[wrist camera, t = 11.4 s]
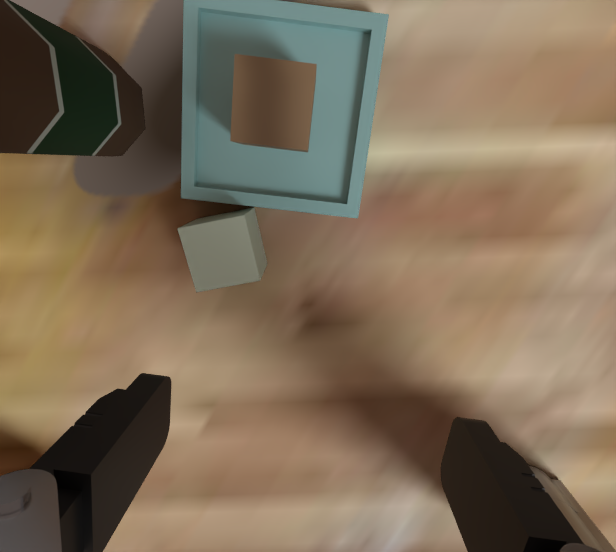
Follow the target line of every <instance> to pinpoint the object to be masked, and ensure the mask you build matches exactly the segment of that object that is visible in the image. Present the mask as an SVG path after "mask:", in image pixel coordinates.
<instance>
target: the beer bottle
mask: <svg viewBox="0 0 616 552" xmlns="http://www.w3.org/2000/svg"><path fill="white" fill-rule="evenodd" d="M144 130H145V119H144V108H143V99H142V89H141V87H140V86H139V85H138V84H137V83H136V82H135V81H134V80H133V79H132V78H131V77H130V76H129V75H128V74H127V73H126V72H125V71H124V69H123V68H122V67H121V66H120V65H119V64H118V63H117V62H116V61H115V60H114V59H113V58H112V57H111V56H109V55H108V54H106V53H105V52H103V51H102V50H100V49H99V48H97V47H95V46H93V45H91V44H89V43H87V42H86V41H84V40H82V39H80V38H78V37H76V36H75V35H73V34H71V33H69V32H67V31H65V30H63V29H62V28H60V27H58V26H56V25H54V24H52V23H50V22H48V21H47V20H45V19H43V18H41V17H39V16H37V15H36V14H34V13H32V12H30V11H28V10H26V9H24V8H23V7H21V6H19V5H17V4H15V3H13V2H11V1H10V0H0V153H20V154H49V155H80V156H121V155H123V154H124V153H125V152H126V150H128V148H129V147H130V146H131V145H132V144H133V143H134V141H135V140H136V139H137V138H138V137H139V136H140V134H141V133H142V132H143V131H144Z"/></svg>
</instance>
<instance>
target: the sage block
mask: <svg viewBox="0 0 616 552" xmlns="http://www.w3.org/2000/svg"><path fill="white" fill-rule="evenodd" d="M177 229H178V232H179V236H180V239H181V243H182V246H183V249H184V253H185V256H186V259H187V263H188V266H189V269H190V273H191V276H192V279H193V283H194V286H195V289H196V292H202V291H207V290H212V289H218V288H223V287H229V286H234V285H239V284H245V283H250V282H255V281H260V280H261V278H262V275H263V273H264V271H265V268H266V266H267V259H266V255H265V251H264V247H263V242H262V238H261V234H260V230H259V225H258V221H257V217H256V212H255V208H249V209H244V210H239V211H234V212H229V213H223V214H218V215H213V216H208V217H203V218H198V219H196V220H194V221H191V222H189V223H187V224H185V225H183V226H181V227H179V228H177Z"/></svg>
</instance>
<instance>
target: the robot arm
mask: <svg viewBox="0 0 616 552" xmlns="http://www.w3.org/2000/svg"><path fill="white" fill-rule="evenodd" d="M170 405H171V379H170V377H167V376H160V375H153V374H146V373H142V374H140V375H139V376H138V377H137V378H136V379H135V380H134V381H133V382H132V384H131V385H130V386H129V387H128V388H127V389H126V390H123V389H116V390H114V391H113V392H111V393H109V394H107V395H105V396H103V397H101V398H100V399H98V400H97V401H96V402H95V403H94V404H93V405H92V406H91V407H90V408H89V409H88V410H87V411H86V414H85V415H82V416H81V417H80V418H79V419H78V420H77V421H76V422H75V425H74V426H71V427H70V428H69V429H68V430H67V431H66V432H65V433H64V434H63V435H62V436H61V437H60V438H59V439H58V440H57V441H56V442H55V443H54V444H53V445H52V446H51V447H50V448H49V449H48V450H47V451H46V452H45V453H44V454H43V456H42V457H41V458H40V459H39V460H38V461H37V462H36V463H35V464H34V465H33V466H32V467H31V468H30V469H25V470H19V471H15V472H11V473H8V474H5V475H3V476H0V552H103V550H104V548H105V547H106V545H107V543H108V542H109V540H110V538H111V536H112V535H113V533H114V531H115V530H116V528H117V526H118V524H119V523H120V521H121V519H122V517H123V516H124V514H125V512H126V511H127V509H128V507H129V505H130V504H131V502H132V500H133V499H134V497H135V495H136V493H137V492H138V490H139V488H140V487H141V485H142V483H143V481H144V480H145V478H146V476H147V475H148V473H149V471H150V469H151V468H152V466H153V464H154V463H155V461H156V459H157V457H158V456H159V454H160V452H161V450H162V449H163V447H164V445H165V442H166V439H167V436H168V432H169V426H170ZM441 481H442V486H443V489H444V492H445V494H446V497H447V499H448V502H449V504H450V507H451V510H452V512H453V515H454V517H455V520H456V523H457V525H458V528H459V530H460V533H461V535H462V538H463V541H464V543H465V546H466V548H467V551H468V552H616V550H615V549H614V548H613V547H612V545H611V544H610V543H609V542H608V540H607V539H606V538H605V536H604V535H603V534H602V533H601V531H600V530H599V529H598V528H597V526H596V525H595V524H594V522H593V521H592V520H591V519H590V517H589V516H588V515H587V514H586V512H585V511H584V510H583V508H582V507H581V506H580V505H579V503H578V502H577V501H576V500H575V498H574V497H573V496H572V494H571V493H570V492H569V491H568V489H567V488H566V487H565V486H564V484H563V483H562V482H561V480H554V479H551V478H550V477H549V476H548V475H546V474H545V473H544V472H543V471H541V470H539V469H538V468H535V467H532V466H529V465H528V464H527V463H526V461H525V460H524V459H523V458H522V457H521V456H520V455H519V454H518V453H517V452H515V451H514V450H513V449H512V448H511V447H510V446H508V445H507V444H506V443H503V442H500V441H499V439H498V438H497V436H496V435H495V433H494V432H493V430H492V429H491V427H490V426H489V424H488V423H487V422H486V421H482V420H475V419H467V418H460V417H457V418H455V419H454V421H453V423H452V426H451V430H450V434H449V437H448V441H447V445H446V448H445V452H444V455H443V459H442V463H441Z"/></svg>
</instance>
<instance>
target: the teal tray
mask: <svg viewBox="0 0 616 552" xmlns="http://www.w3.org/2000/svg"><path fill="white" fill-rule="evenodd" d="M183 7H184V8H183V9H184V10H183V78H182V79H183V80H182V152H181V153H182V154H181V156H182V157H181V198H184V199H193V200H202V201H210V202H219V203H228V204H237V205H245V206H254V207H263V208H272V209H280V210H289V211H298V212H306V213H315V214H324V215H333V216H341V217H350V218H358V214H359V208H360V201H361V195H362V188H363V181H364V175H365V168H366V162H367V155H368V148H369V142H370V135H371V129H372V122H373V115H374V109H375V102H376V96H377V89H378V82H379V76H380V69H381V63H382V56H383V49H384V43H385V36H386V29H387V23H388V16H389V15H388V14H380V13H372V12H365V11H357V10H349V9H341V8H333V7H326V6H318V5H310V4H302V3H294V2H287V1H279V0H184V5H183ZM235 54H241V55H249V56H257V57H265V58H273V59H281V60H288V61H296V62H304V63H312V64H317V69H316V85H315V94H314V103H313V112H312V122H311V131H310V140H309V149H308V152H300V151H291V150H283V149H275V148H266V147H258V146H249V145H243V144H239V143H235V142H232V141H230V136H231V116H232V96H233V76H234V56H235Z"/></svg>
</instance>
